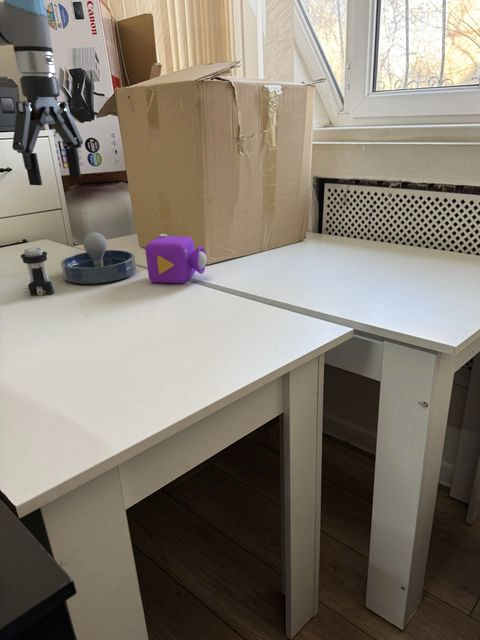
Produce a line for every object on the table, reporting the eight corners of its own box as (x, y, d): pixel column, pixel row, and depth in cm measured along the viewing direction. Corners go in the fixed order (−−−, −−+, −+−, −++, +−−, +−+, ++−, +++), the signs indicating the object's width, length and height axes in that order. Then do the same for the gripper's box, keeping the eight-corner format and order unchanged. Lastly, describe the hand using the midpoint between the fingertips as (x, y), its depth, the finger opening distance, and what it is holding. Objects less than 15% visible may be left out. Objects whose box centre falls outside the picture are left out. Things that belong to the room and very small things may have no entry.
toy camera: (206, 284, 116) (203, 241, 112) (147, 286, 117) (141, 243, 112) (210, 271, 126) (207, 231, 122) (155, 273, 126) (150, 232, 122)
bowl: (49, 282, 121) (45, 265, 120) (93, 263, 136) (90, 248, 134) (110, 288, 116) (107, 270, 114) (149, 268, 131) (147, 251, 129)
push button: (20, 298, 111) (9, 253, 107) (27, 291, 116) (17, 247, 112) (51, 296, 112) (42, 251, 108) (57, 289, 117) (48, 246, 113)
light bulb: (84, 275, 124) (77, 234, 120) (94, 269, 129) (87, 229, 124) (105, 276, 123) (98, 235, 119) (114, 269, 128) (108, 230, 124)
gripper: (8, 72, 96) (31, 189, 105) (89, 78, 117) (102, 175, 126) (-23, 73, 98) (2, 187, 107) (62, 79, 119) (77, 174, 128)
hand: (56, 181), depth 116 cm, fingers open, 13 cm apart
